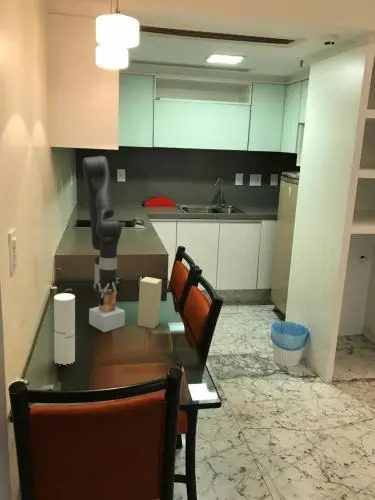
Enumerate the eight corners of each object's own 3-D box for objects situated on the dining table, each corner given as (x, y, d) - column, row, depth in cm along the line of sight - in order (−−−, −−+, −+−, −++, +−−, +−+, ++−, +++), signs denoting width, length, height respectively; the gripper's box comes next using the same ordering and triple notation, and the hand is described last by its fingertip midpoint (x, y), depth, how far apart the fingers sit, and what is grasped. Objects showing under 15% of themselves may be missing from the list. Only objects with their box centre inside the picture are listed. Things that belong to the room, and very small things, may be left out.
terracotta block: (108, 306, 198) (108, 289, 196) (115, 310, 195) (115, 293, 193) (99, 309, 194) (99, 292, 192) (106, 313, 191) (106, 295, 189)
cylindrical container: (56, 355, 167) (56, 292, 160) (76, 356, 167) (76, 293, 161) (52, 365, 160) (52, 300, 153) (73, 365, 160) (73, 300, 154)
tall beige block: (160, 322, 202) (162, 278, 197) (153, 328, 195) (156, 283, 190) (144, 319, 204) (146, 276, 199) (137, 325, 197) (139, 280, 192)
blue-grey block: (109, 317, 204) (109, 303, 202) (124, 325, 196) (125, 310, 195) (89, 323, 196) (89, 309, 194) (104, 332, 189) (104, 316, 187)
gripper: (116, 261, 197) (115, 297, 201) (88, 267, 187) (88, 304, 191) (126, 265, 192) (125, 302, 196) (99, 271, 182) (98, 309, 186)
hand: (107, 303), depth 194 cm, fingers open, 6 cm apart
